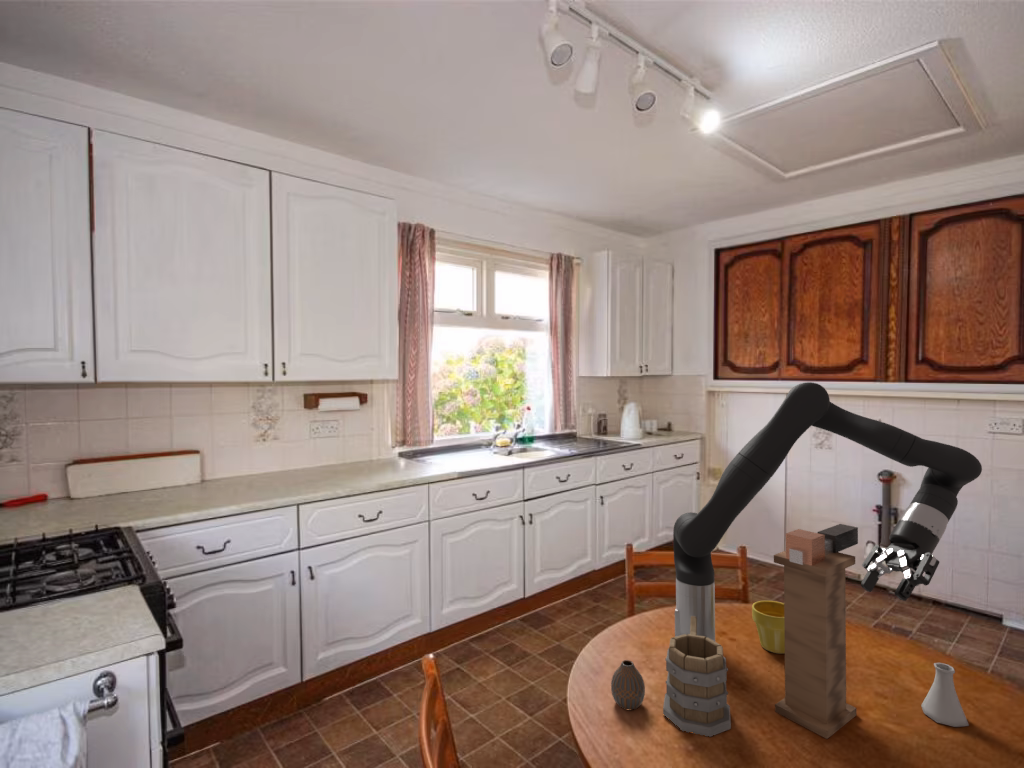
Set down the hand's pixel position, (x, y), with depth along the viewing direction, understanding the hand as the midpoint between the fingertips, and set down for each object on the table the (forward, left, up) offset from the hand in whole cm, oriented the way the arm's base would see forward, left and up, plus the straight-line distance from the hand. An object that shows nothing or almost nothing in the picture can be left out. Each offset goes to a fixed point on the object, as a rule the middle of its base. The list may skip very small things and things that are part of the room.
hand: (881, 593), depth 108 cm
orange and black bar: (-11, -4, +9) cm, 14 cm away
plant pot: (-20, +18, -24) cm, 35 cm away
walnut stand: (-13, -8, -23) cm, 28 cm away
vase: (-48, -20, -24) cm, 57 cm away
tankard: (-35, -14, -24) cm, 44 cm away
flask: (+10, +2, -24) cm, 26 cm away
